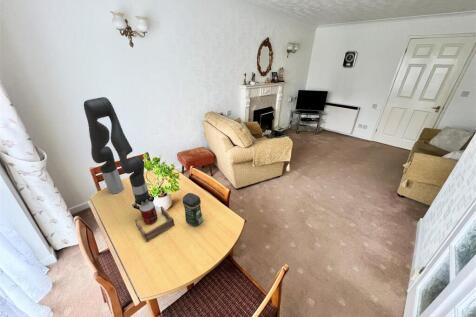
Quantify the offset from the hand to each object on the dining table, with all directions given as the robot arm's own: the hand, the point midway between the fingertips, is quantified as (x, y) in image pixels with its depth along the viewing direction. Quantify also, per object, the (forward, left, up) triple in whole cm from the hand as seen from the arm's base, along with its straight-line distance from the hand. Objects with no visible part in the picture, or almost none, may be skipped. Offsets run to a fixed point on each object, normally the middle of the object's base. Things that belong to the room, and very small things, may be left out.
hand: (146, 212), depth 118 cm
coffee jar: (+24, +18, -2) cm, 30 cm away
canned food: (+5, 0, -2) cm, 6 cm away
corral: (+12, 0, -2) cm, 12 cm away
